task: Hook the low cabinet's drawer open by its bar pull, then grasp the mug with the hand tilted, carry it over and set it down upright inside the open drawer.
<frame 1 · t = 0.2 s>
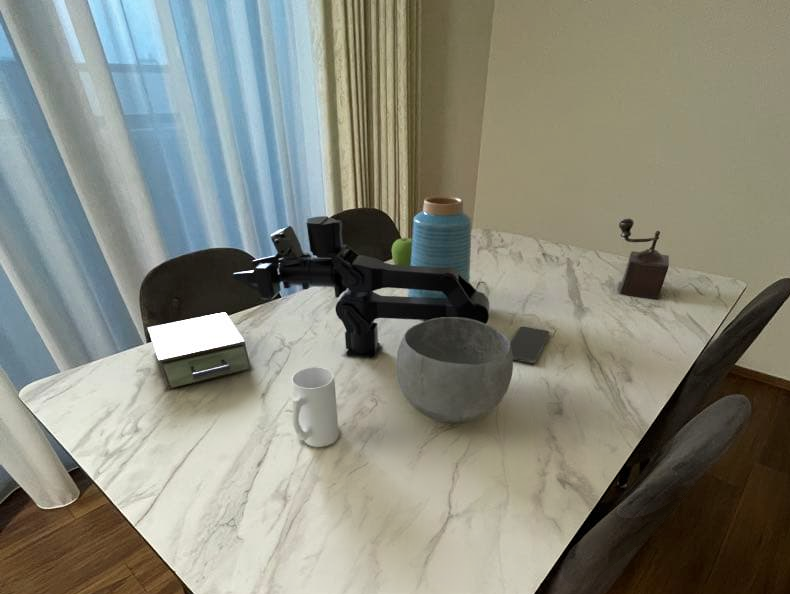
hand: (243, 269, 100), 17 cm above the table, tool horizontal, fingers open, 9 cm apart
bowl: (450, 410, 89), on the table
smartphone: (526, 346, 110), on the table
mug: (316, 442, 82), on the table
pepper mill: (629, 289, 139), on the table
drawer: (202, 355, 98), point 3 cm above the table, slide at 0.0 cm, touching cabinet
vase: (437, 310, 126), on the table
green rounded piece: (405, 276, 146), on the table
cabinet: (203, 361, 103), on the table
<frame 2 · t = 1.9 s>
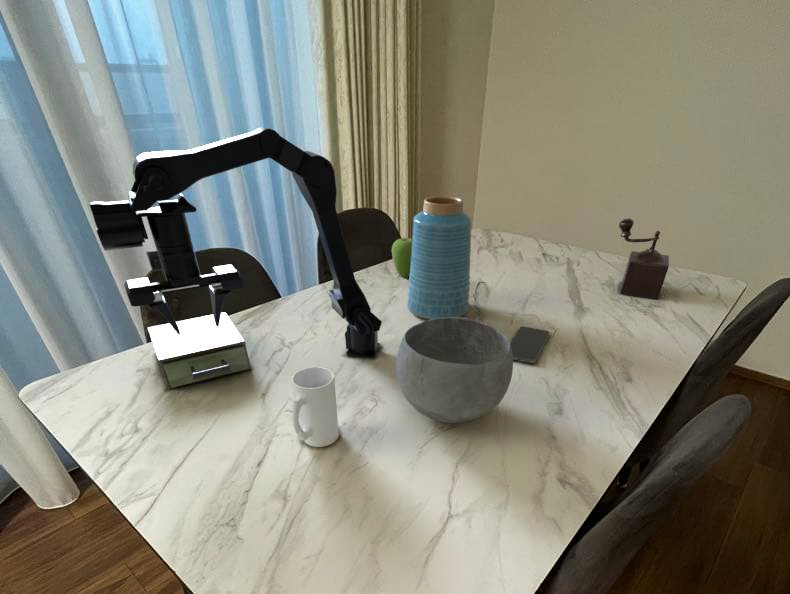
hand: (198, 329, 88), 12 cm above the table, tool pointing down, fingers open, 7 cm apart
nothing on the table moved.
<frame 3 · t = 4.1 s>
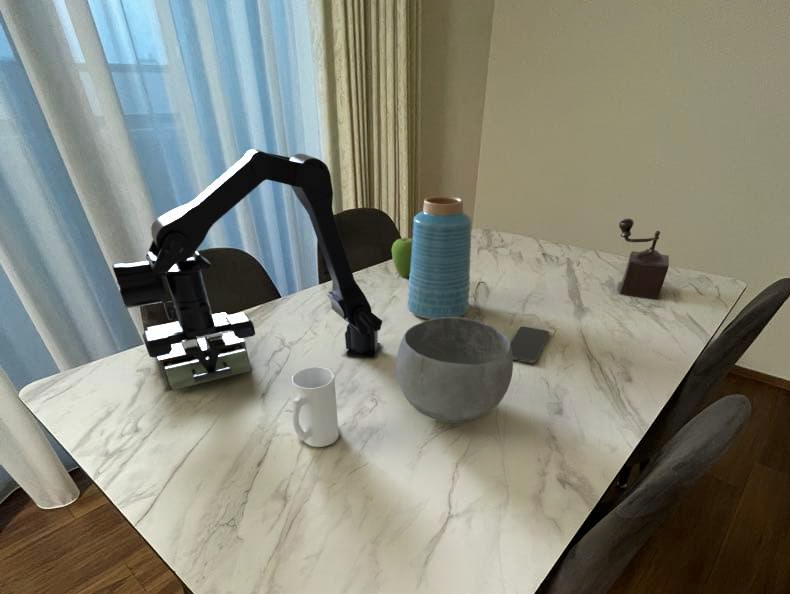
hand: (211, 373, 92), 4 cm above the table, tool pointing down, fingers closed
drawer: (203, 358, 97), point 3 cm above the table, slide at 1.2 cm
everything else where it was.
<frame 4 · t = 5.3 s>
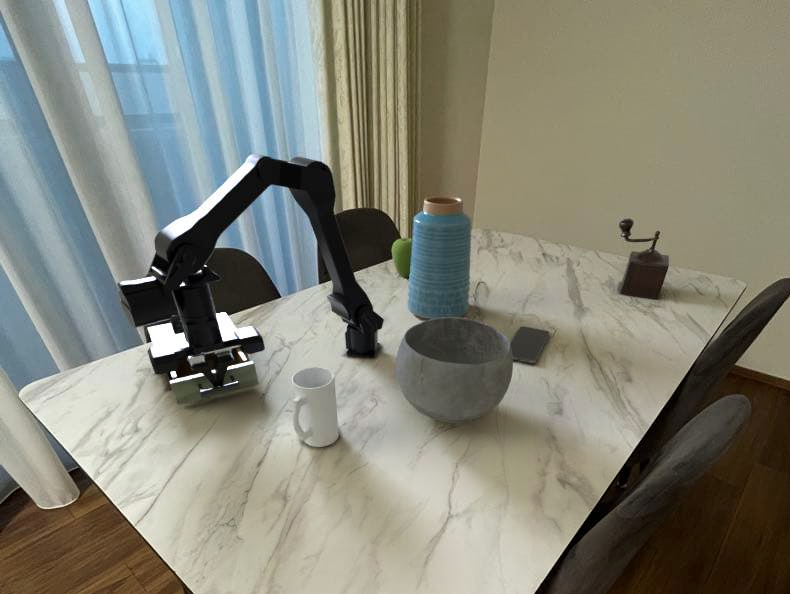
hand: (219, 389, 88), 3 cm above the table, tool pointing down, fingers closed, pressing on drawer
drawer: (210, 371, 93), point 3 cm above the table, slide at 7.2 cm, touching gripper
everything else where it was.
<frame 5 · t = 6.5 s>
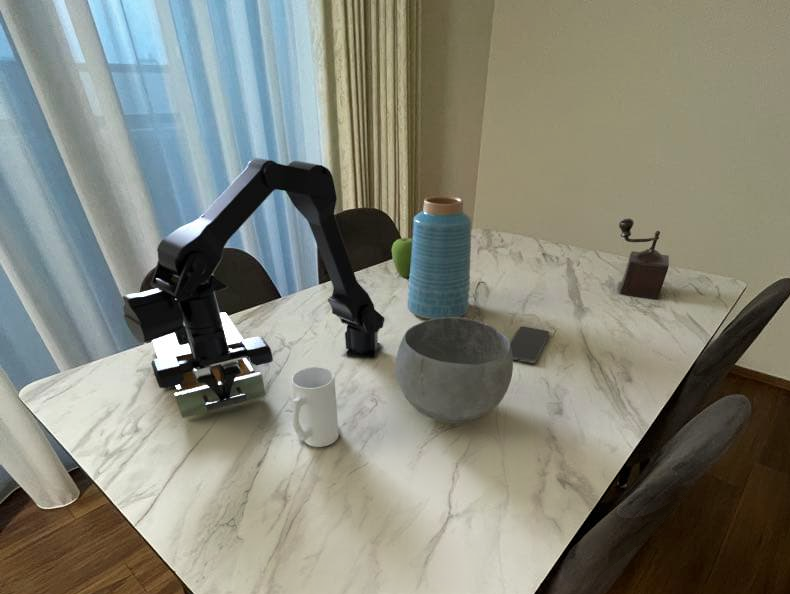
hand: (225, 402, 85), 3 cm above the table, tool pointing down, fingers closed, pressing on drawer
drawer: (215, 382, 90), point 3 cm above the table, slide at 12.0 cm, touching gripper
everything else where it was.
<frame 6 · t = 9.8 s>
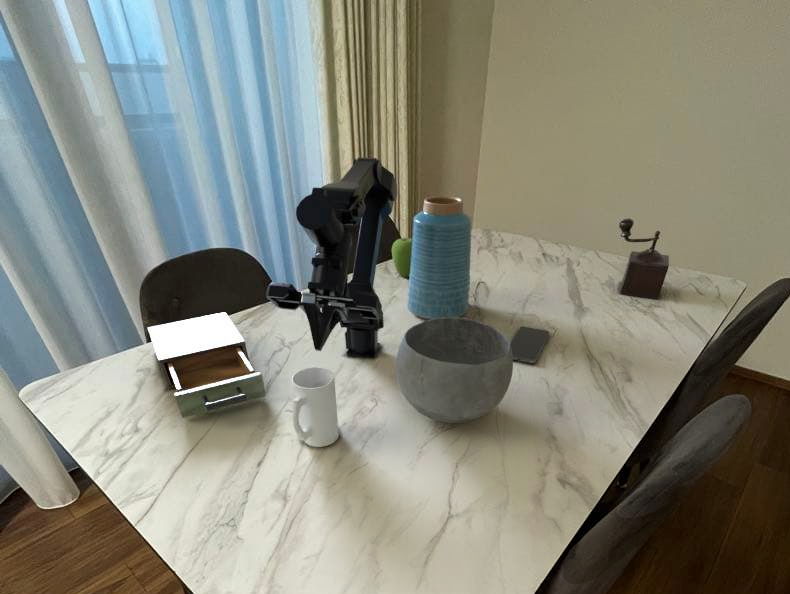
hand: (317, 350, 79), 13 cm above the table, tool tilted 40°, fingers closed
drawer: (215, 382, 90), point 3 cm above the table, slide at 12.0 cm
everything else where it was.
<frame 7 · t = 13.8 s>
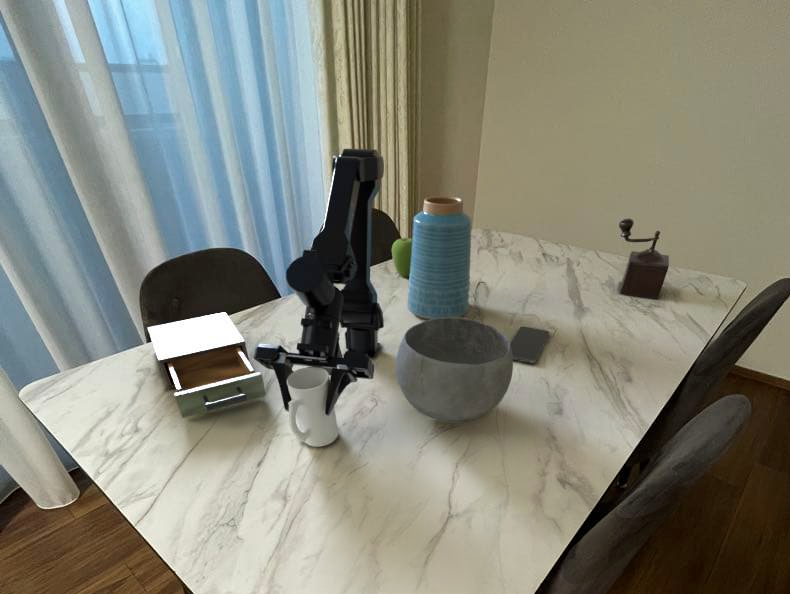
hand: (307, 412, 75), 7 cm above the table, tool tilted 45°, fingers closed on mug, 6 cm apart
mug: (316, 442, 81), on the table, touching gripper
everything else where it was.
when the fingers open (10 cm above the table, at t = 23.3 s): mug stays where it is, resting on drawer.
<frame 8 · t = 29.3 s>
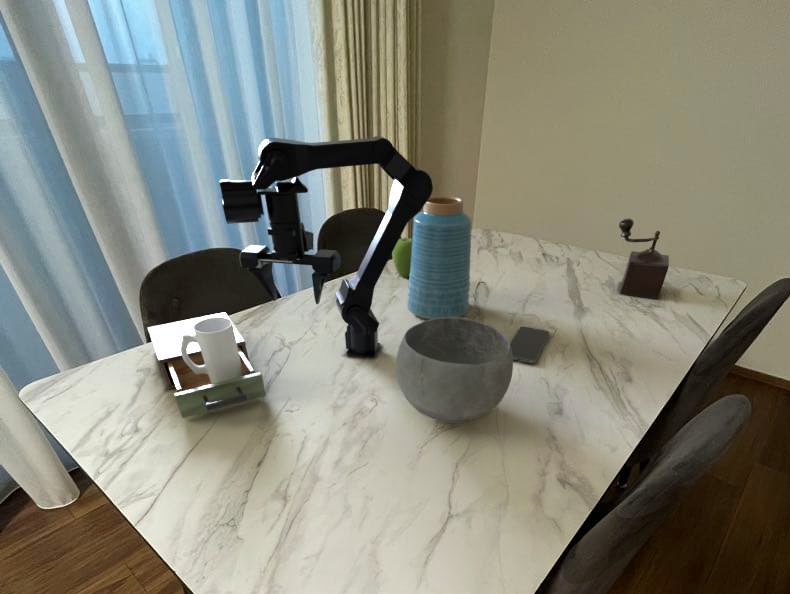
hand: (296, 301, 96), 13 cm above the table, tool pointing down, fingers open, 9 cm apart
mug: (219, 383, 92), point 2 cm above the table, touching drawer
drawer: (215, 382, 90), point 3 cm above the table, slide at 12.1 cm, touching mug
everything else where it was.
at the end: drawer slide at 12.1 cm; mug inside the target area in the drawer (0.9 cm from its centre), point 1.8 cm above the cabinet's base; mug tilted 0° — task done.
